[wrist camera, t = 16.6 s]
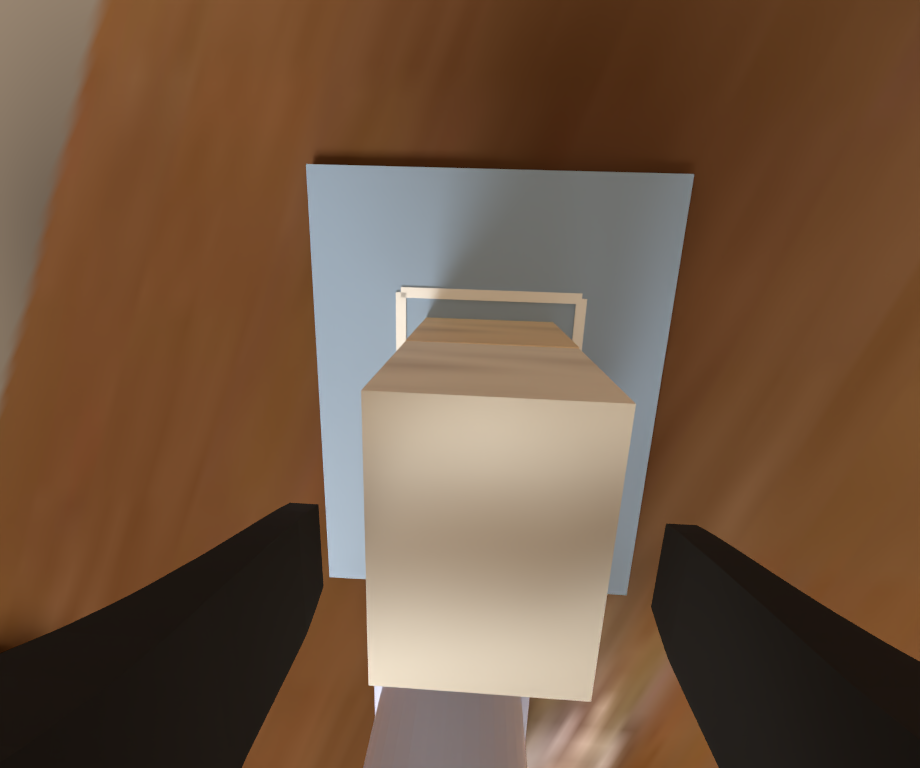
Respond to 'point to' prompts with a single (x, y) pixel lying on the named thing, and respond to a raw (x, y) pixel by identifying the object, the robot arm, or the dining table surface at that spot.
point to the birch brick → (490, 517)
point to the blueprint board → (487, 293)
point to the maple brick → (491, 332)
